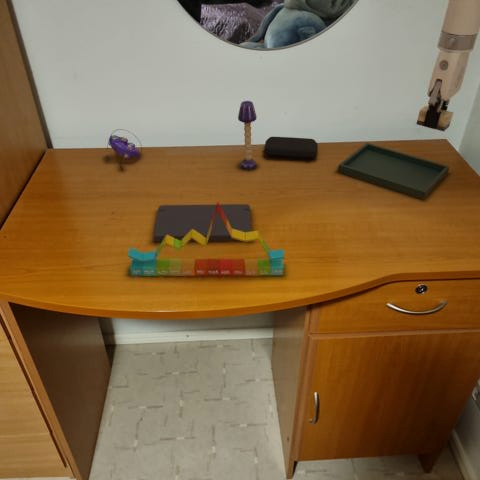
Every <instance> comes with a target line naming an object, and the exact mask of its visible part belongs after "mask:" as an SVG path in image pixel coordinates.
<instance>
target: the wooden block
mask: <svg viewBox="0 0 480 480" xmlns="http://www.w3.org/2000/svg"><path fill="white" fill-rule="evenodd" d="M427 109H428V105H424V106H423V107H422V108H420V109H419V113H418V115H417V119H416V125H417V126H421V127H424V126H423V124H424V120H425V117H426V113H427ZM440 112H441V115H440V118H439V122H438V125H437V128H436V129H435V130H437V131H440V132H445V131H446V130H447V129H448V128H449V127H450V125H451V122H452V119H453V115H454V112H453V111H449V110H447V111H445V110H440Z"/></svg>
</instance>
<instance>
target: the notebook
mask: <svg viewBox="0 0 480 480" xmlns="http://www.w3.org/2000/svg"><path fill="white" fill-rule="evenodd" d="M216 205H217V204H161V205H159V206H158V209H157V213H156V215H157V216H156V220H155V226H154V231H153V243H162V241H163V240H164V238H165V236H166V235H169V236H171V237H173V238H174V239H177V240H180V241H181V240H182V239H183V238H184V237H185V236H186V235H187V234H188V233H189V232H190V231H191V230H193V229H194V230H195V231H197V232H198V233H200V234H201V235H202V236H204V237H205V238H207V234H208V231H209V228H210V225H211V221H212V218H213V215H214V212H215V209H216ZM219 205H220V207H221V209H222V210H223V212H224V214H225V216H226V218H227V220H228V222H229V224H230V226H231V228H232V229H235V230H238V231H242V232H251V231H253V230H252V220H251V206H250V204H248V203H235V204H233V203H232V204H231V203H230V204H227V203H226V204H224V203H223V204H219ZM189 242H190V243H191V242H197V241H195V240H194V239H192V238H191V239H190V240H189V241H188V242H187V243H189ZM208 242H241V241H240V240H237V239H234V238H232V237H231V235H230V233H229V232H228V230H227V228H226V226H225V224H224V222H223V220H222V218H221V216H220V215H219V213H218V206H217V213H216V216H215V220H214V223H213V226H212V229H211V232H210V236H209V239H208ZM197 243H198V242H197Z"/></svg>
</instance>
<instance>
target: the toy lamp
mask: <svg viewBox="0 0 480 480" xmlns="http://www.w3.org/2000/svg"><path fill="white" fill-rule="evenodd" d="M257 118H258V117H257V113H256V109H255V105H254V103H253V101H251V100H244V101H242V102H241V103H240V106H239V110H238V115H237V119H238V121H239V122H241V123H243V125H244V126H243V130H244V133H243V136H244V141H243V142H244V154H245V155H244V159H243V160H241V161H240V168H241V169H242V170H246V171H251V170H254V169H256V168H257V163H256V161H255V160H254V159H253V157H252V151H253V150H252V132H251V131H252V126H251V125H252V123H253V122H255V121H256V120H257Z"/></svg>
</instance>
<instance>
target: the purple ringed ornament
mask: <svg viewBox="0 0 480 480" xmlns="http://www.w3.org/2000/svg"><path fill="white" fill-rule="evenodd" d="M118 131H126V132H128V133H130V134H132V135H133V136H134V137H135V138H136V139H137V140H138V142H139V143H140V146H141V148H143V146H142V143H141V141H140V140H139V138H138V137H137V136H136V135H135V134H134V133H132V132H131V131H129V130H126V129H121V128H118ZM115 132H117V129H116V130H113V133H115ZM113 133H111V134H110V136H109V138H108V141H107V142H108V143H107V144H108V145H106V146H107V147H106V150H108V149H109V146H110V147H111V149H113V151H114V155H115V156H114V157H117V156H116V154H117V155H121V158H120V160H122V159H123V157H124V158H126V159H137V158H140V157H141V154H142V152H143V150H141V152H140V151H139V150H137V149H135V148H136V144H134V143H133V142H129V140H128V138H127V137H125V136H118V135H116V134H113ZM105 159H106V161H108V160H109V157H108V156H105ZM116 160H117V162H118V165H119V167H120V169H121V170H122V171H123V165H122V164H121V163H120V162H119V160H118V159H116Z"/></svg>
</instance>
